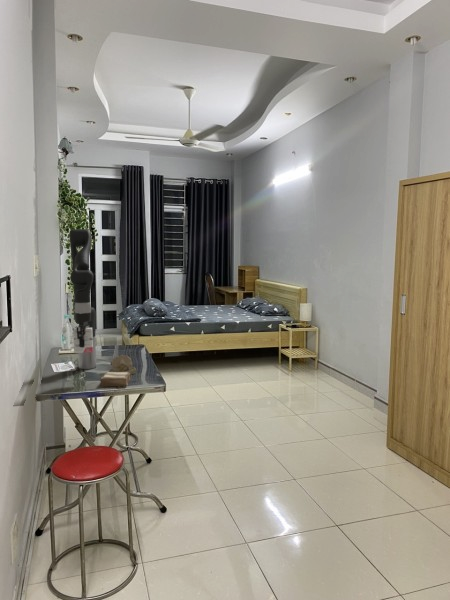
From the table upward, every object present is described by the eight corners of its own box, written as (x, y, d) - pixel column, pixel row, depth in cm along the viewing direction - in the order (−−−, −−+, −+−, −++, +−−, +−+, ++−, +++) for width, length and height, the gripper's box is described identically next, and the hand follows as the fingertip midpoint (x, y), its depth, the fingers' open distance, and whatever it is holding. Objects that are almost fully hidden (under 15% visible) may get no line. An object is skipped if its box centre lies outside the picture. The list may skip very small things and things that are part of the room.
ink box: (93, 350, 230) (92, 327, 229) (92, 352, 225) (92, 328, 224) (75, 351, 228) (74, 327, 227) (73, 353, 224) (73, 329, 222)
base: (106, 379, 231) (106, 371, 231) (130, 379, 231) (130, 371, 231) (100, 386, 219) (100, 378, 219) (126, 386, 219) (126, 377, 219)
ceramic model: (109, 376, 237) (108, 357, 236) (107, 371, 247) (106, 353, 246) (137, 374, 241) (136, 355, 240) (133, 369, 252) (133, 351, 251)
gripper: (79, 309, 232) (80, 343, 234) (70, 313, 218) (71, 349, 219) (94, 309, 232) (95, 343, 234) (86, 313, 218) (87, 349, 219)
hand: (83, 345), depth 226 cm, fingers closed on ink box, 5 cm apart
